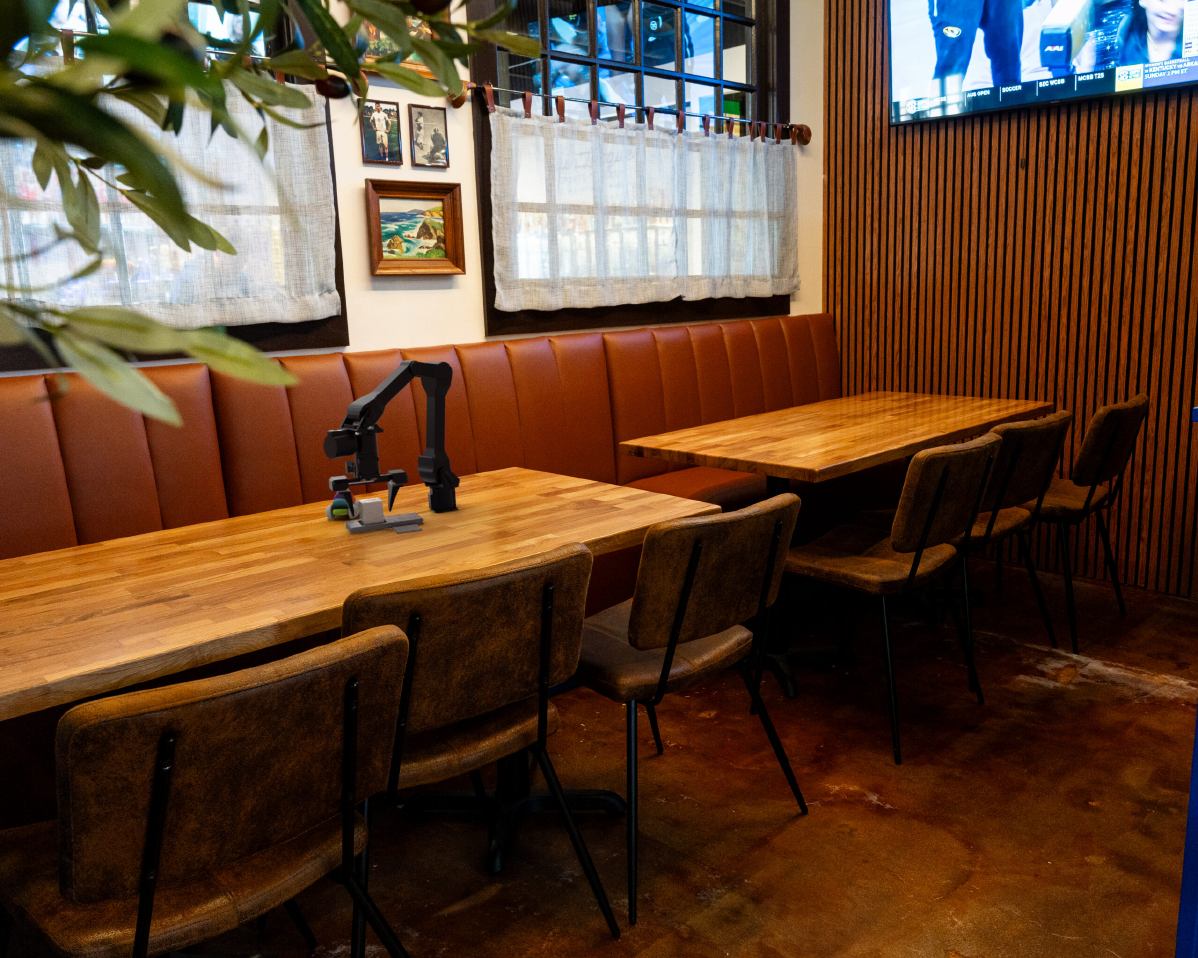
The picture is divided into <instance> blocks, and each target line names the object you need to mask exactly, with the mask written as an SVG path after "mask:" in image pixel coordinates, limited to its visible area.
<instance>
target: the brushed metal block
mask: <svg viewBox="0 0 1198 958" xmlns="http://www.w3.org/2000/svg"><path fill="white" fill-rule="evenodd" d="M358 501H359V512H360V515H359V520H360V523H361V526H364V525H372V524H379V523H384V515H385V514H384V505H383V504H384V503H383V500H382V499H381V498H380V497H372V498H371V497H370V498H364V499H358Z"/></svg>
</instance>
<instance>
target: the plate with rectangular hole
mask: <svg viewBox="0 0 1198 958" xmlns="http://www.w3.org/2000/svg"><path fill="white" fill-rule="evenodd" d="M344 524H345V529H347V531H348V532H349V533H350V534H351V535H352V534H353V535H355V534H359V533H360V534H361V533H367V532H374V531H381V530H382V531H383V530H390V529H392V527H397V526H405V525H412V524H417V525H418V526H419V525H424V518H423V517H422V516H421V515H419V514H418V513H417V512H408V513H400V514H392V515H386V516H384V523H379V524H372V525H364V526H361V523H360V519H352V520H348V521H345V523H344Z"/></svg>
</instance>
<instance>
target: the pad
mask: <svg viewBox="0 0 1198 958" xmlns="http://www.w3.org/2000/svg"><path fill="white" fill-rule="evenodd" d="M391 529H392V530H393V531H394V532H395V533H396V534H406V533H413V532H421V531H422V530H423V529H422V528H421V527H420V526H419V525H417V524H412V525H405V526H397V527H392V528H391Z"/></svg>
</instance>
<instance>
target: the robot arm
mask: <svg viewBox="0 0 1198 958" xmlns="http://www.w3.org/2000/svg"><path fill="white" fill-rule="evenodd" d="M453 375H454V372H453V368H452V366H451V364H450V363H448V362H446V361H438V360H437V361H435V360H434V361H433V360H432V361H431V360H428V361H425V362H423V361H418V360H414V359H413V360H411V359H405V360H403V361H401V362H400V363H399V366H398V367H397V368H395V369H394V370H393V371H392V372H391V373H390V374H389V375H388V376H387V377H386V378H385V379H384V380H383V381H382V382H380V384H378V386H376V387H375V388H374V389H373V390H372V391H371V392H369V393H368V394H366V395H363V396H361V397H359V398H357V399H356V400H354V401H353V402H351V403H350V404H349V405H348V406H347V408H346V415H345V417H344V418H343V420H342V422H341V425H340V426H339V428H338V429H335V430H334V429H330V430H326V434H327V435H326V436H325V438H324V440H323V443H322V445H323V446H322V447H323V452H324V454H325V456H326V457H327V458H328V459H330V460H334V459H339V458H344V457H345V458H346V457H350V456H354V460H353V459H351V460H345V461H344V468H345V474H346V475H351V474H352V475H353V477H351V478H349V477H347V476H346V475H340V476H339V475H337V476H330V478H329V479H328V486H329V489H330V490H331V491H332V492H336V493H338V494H342V496H343V497H344V499H345V501H346V503H347V505H348V508H349V510H350V512H351V514H352V516H353V517H354V507H353V502H352V496H351V493H352V492H351V490H350V489H349V487H354V486H362V485H369V484H378V483H380V484H381V483H386V484H387V495H388V496H387V508H388V509H387V510H388V512H389V513H391V512H392V510H393V507H394V504H395V500H396V498H397V495H398V492H399V490H400V488H403V487H404V484H408V483H409V475H408V473H407V472H406V471H405V470H403V469H402V468H401V469H391V470H387V473H386V474H381V470H380V457H379V448H378V436H377V435H378V434H380V433H384V432H385V430H384V429H383V428H382V427H380V426H379V424H378V422H379V420H380V418H381V417H382V416H383V414H384V413H385V409H386V406H387V405H388V404H389V403H390V402H391V401H392V399H394V398H396V396H397V395H398V394H399V393H400V392H401V391H402V390H403V389H404V388H405V387H406V386H408V384H409V383H410V382H411V381H412V380H414V378H419V379H420V382H421V386H422V388H423V391H424V392H425V395H426V412H425V413H426V418H425V419H426V420H425V421H426V424H425V425H426V427H425V428H426V429H425V431H426V432H425V436H426V437H425V450H424V452H423V455H418V456H417V468H416V471H417V472H418V474H419V478H420V479H421V480H422V481H423V484H424V486H425V488H426V487H427V488H428V487H429V492H428V493H427V498H428V508H429V509H430V510H431V511H432V512H433V513H436V514H437V513H443V512H444V513H445V512H449V511H450V512H451V511H458V510H459V507H457V499H456V498H457V497H456V488H459V487H460V481H461V479H460V478H459V476H457V474H455V473H454V472H453V471H452V466H451V460H450V458H449V455H448V453H447V452H446V397H447V394H448V392H449V390H450V388H451V386H452V382H453Z"/></svg>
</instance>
